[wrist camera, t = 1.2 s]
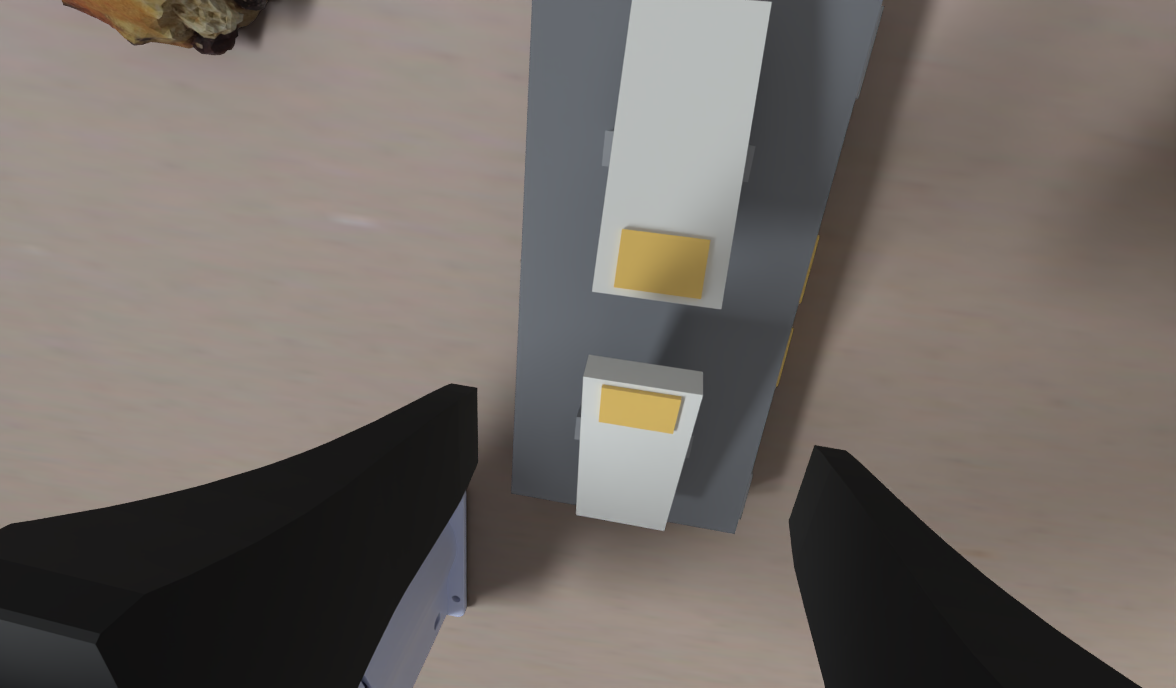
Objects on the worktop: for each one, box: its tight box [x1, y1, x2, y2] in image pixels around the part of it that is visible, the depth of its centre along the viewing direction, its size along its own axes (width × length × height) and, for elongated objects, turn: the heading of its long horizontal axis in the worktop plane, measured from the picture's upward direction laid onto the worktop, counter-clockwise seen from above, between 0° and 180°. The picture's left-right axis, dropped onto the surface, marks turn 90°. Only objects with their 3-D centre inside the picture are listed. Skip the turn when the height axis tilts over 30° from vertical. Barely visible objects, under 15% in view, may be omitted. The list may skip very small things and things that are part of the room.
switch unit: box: [511, 0, 884, 534], centre depth 19 cm, size 20×10×4 cm, turn 174°
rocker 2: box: [576, 355, 703, 531], centre depth 18 cm, size 8×4×1 cm, turn 174°
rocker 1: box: [592, 0, 772, 309], centre depth 14 cm, size 8×4×1 cm, turn 174°
